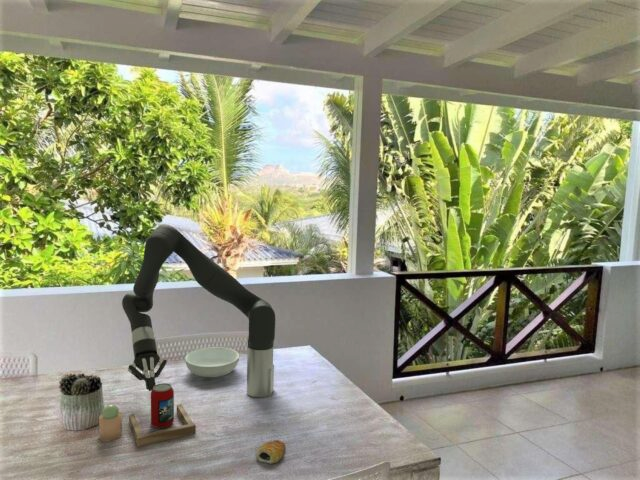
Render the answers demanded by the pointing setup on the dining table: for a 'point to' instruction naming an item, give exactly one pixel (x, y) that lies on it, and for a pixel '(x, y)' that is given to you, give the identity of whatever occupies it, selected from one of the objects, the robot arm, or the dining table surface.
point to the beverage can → (162, 405)
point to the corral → (163, 434)
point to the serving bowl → (212, 361)
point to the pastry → (270, 452)
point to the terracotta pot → (110, 423)
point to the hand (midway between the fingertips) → (151, 389)
